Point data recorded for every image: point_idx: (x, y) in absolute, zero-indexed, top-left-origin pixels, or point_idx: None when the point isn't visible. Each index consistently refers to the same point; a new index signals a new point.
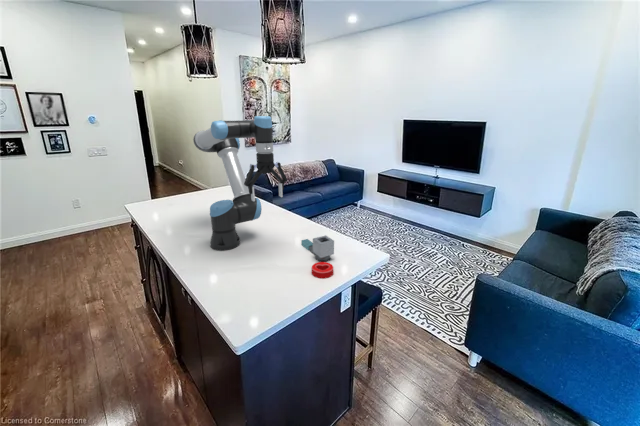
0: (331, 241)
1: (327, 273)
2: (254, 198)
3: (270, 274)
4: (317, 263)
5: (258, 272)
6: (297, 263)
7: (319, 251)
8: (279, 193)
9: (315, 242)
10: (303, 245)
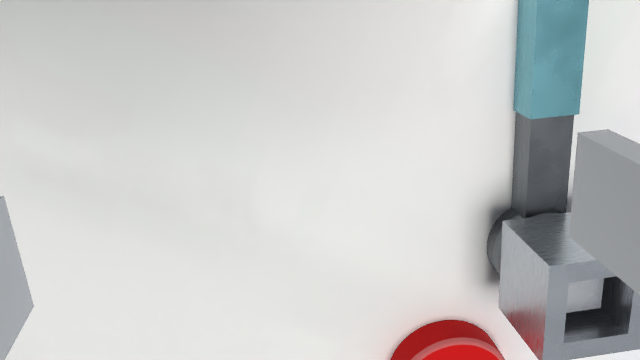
0: (624, 350)
1: None
2: (7, 340)
3: (184, 298)
4: (449, 353)
5: (121, 254)
6: (370, 240)
7: (515, 317)
8: (610, 189)
9: (539, 293)
10: (521, 31)
